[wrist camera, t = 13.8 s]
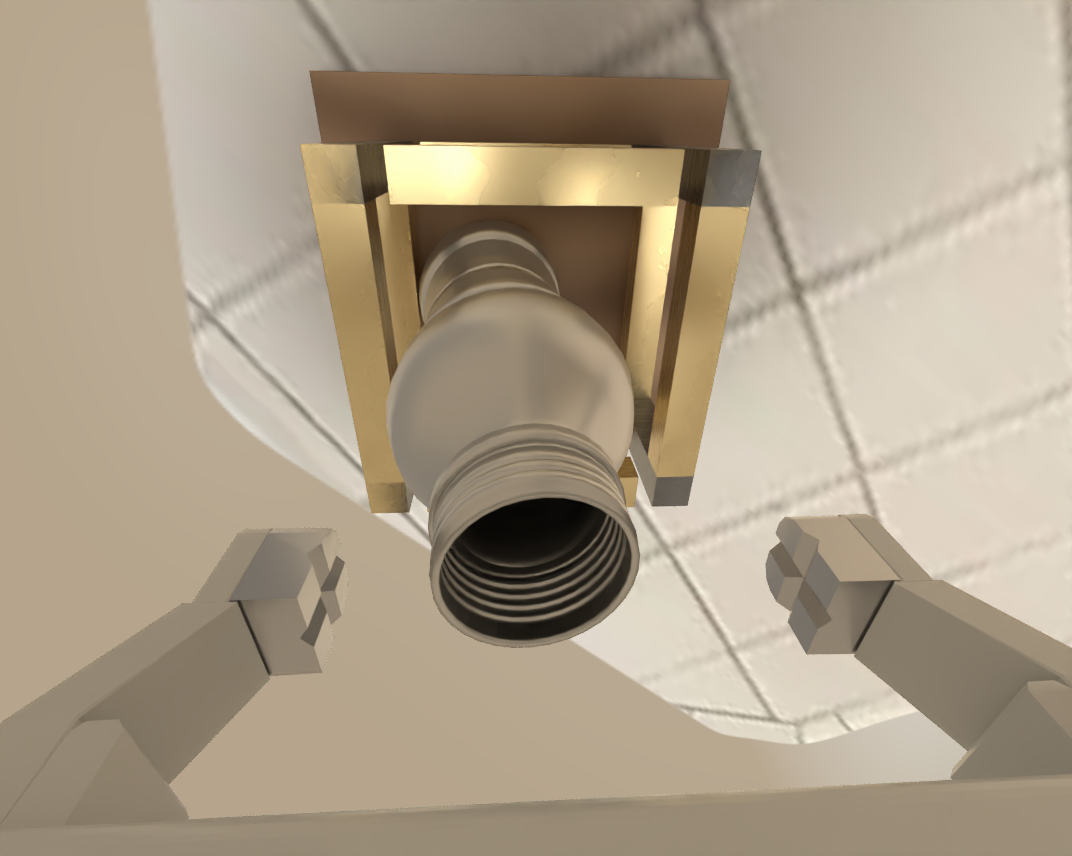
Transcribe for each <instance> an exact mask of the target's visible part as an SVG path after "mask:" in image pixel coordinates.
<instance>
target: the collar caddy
mask: <svg viewBox="0 0 1072 856" xmlns="http://www.w3.org/2000/svg"><path fill="white" fill-rule="evenodd" d="M300 147H301V152H302V157H303V162H304V168H305V173H306V178H307V183H308V188H309V193H310V199H311V204H312V209H313V214H314V219H315V224H316V229H317V235H318V240H319V245H320V250H321V255H322V260H323V266H324V271H325V276H326V281H327V286H328V291H329V297H330V302H331V307H332V312H333V317H334V322H335V328H336V333H337V338H338V343H339V348H340V353H341V359H342V364H343V369H344V374H345V379H346V384H347V390H348V395H349V400H350V405H351V410H352V415H353V421H354V426H355V431H356V436H357V441H358V446H359V452H360V457H361V462H362V467H363V472H364V477H365V483H366V488H367V493H368V498H369V503H370V508H371V513H402V512H409V510H410V506H411V502H412V499H413V495H414V494H413V492H412V491H411V490H410V488H409V487H408V486H407V485H406V483H405V482H404V479H403V477H402V475H401V473H400V471H399V469H398V466H397V464H396V461H395V458H394V455H393V452H392V449H391V446H390V441H389V437H388V432H387V427H386V402H387V398H388V394H389V389H390V385H391V381H392V378H393V376H394V374H395V372H396V370H397V368H398V365H399V363H400V361H401V359H402V357H403V355H404V353H405V351H406V349H407V347H408V345H409V344H410V342H411V341H412V340H413V339H414V337H415V336H416V335H417V333H418V332H419V331H420V330H421V328H422V327H423V326H424V325H425V324H424V321H423V319H422V314H421V308H420V301H419V282H420V278H421V275H420V265H419V255H418V245H417V235H416V226H415V216H414V206H413V204H427V205H550V206H635V210H634V220H633V229H632V239H631V249H630V258H629V268H628V278H627V287H626V297H625V307H624V316H623V326H622V336H621V345H620V351H621V352H622V354H623V356H624V359H625V362H626V364H627V367H628V369H629V372H630V375H631V382H632V389H633V397H634V424H633V435H632V438H631V442H630V445H629V450H630V452H631V455H632V457H633V460H634V462H635V465H636V467H637V470H638V472H639V475H640V477H641V480H642V482H643V485H644V488H645V490H646V493H647V495H648V498H649V500H650V503H651V505H652V506H687V505H688V500H689V496H690V491H691V486H692V481H693V477H694V472H695V467H696V462H697V457H698V453H699V448H700V443H701V438H702V434H703V429H704V424H705V419H706V414H707V410H708V405H709V400H710V395H711V391H712V386H713V381H714V376H715V371H716V367H717V362H718V357H719V352H720V348H721V343H722V338H723V333H724V328H725V324H726V319H727V314H728V309H729V305H730V300H731V295H732V290H733V285H734V281H735V276H736V271H737V266H738V262H739V257H740V252H741V247H742V242H743V238H744V233H745V228H746V223H747V219H748V214H749V209H750V204H751V199H752V195H753V190H754V185H755V180H756V176H757V171H758V166H759V161H760V156H761V152H762V151H759V150H743V149H727V148H711V147H695V146H679V145H653V144H634V145H633V148H631V147H632V145H622V144H554V143H486V142H420V145H413V141H382V140H378V141H356V142H334V143H312V144H300ZM678 199H682V200H684V201H686V204H685V210H684V217H683V224H682V230H681V237H680V244H679V250H678V257H677V264H676V271H675V277H674V284H673V291H672V297H671V304H670V311H669V317H668V324H667V331H666V337H665V344H664V351H663V357H662V364H661V371H660V378H659V384H658V391H657V398H656V404H655V406H654V404H653V402H652V400H651V399H650V396H651V389H652V382H653V375H654V368H655V361H656V354H657V347H658V340H659V333H660V326H661V319H662V312H663V305H664V298H665V291H666V284H667V277H668V270H669V263H670V256H671V249H672V241H673V234H674V227H675V220H676V213H677V206H678ZM618 475H619V478H620V480H621V483H622V485H623V488H624V493H625V499H626V507H634V505H635V498H636V491H637V484H638V475H637V473H636V470H635V467H634V465H633V462H632V460H631V457H625V459H624V461H623V463H622V465H621V467H620V469H619V471H618ZM427 511H428V512H429V509H428V508H427Z"/></svg>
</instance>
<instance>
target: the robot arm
mask: <svg viewBox="0 0 1072 856" xmlns="http://www.w3.org/2000/svg"><path fill="white" fill-rule="evenodd" d="M776 535H777V536H778V538H779V540H780V543H779V544H777V545H776V546H775V547H774V548H773V549H771V550H770V551H769V554H768V558H767V561H766V579H767V582H768V585H769V588H770V591H771V593H772V594H773V596H774V598H775V600H776V602H778V603H779V604H781V605H782V606H784V607H785V608H786V609H788V610H789V611H790V615H789V619H788V623H789V625H790V627H791V628H792V630H793V632H794V633H795V635H796V637H797V639H798V640H799V642H800V644H801V646H802V647H803V649H804V651H805V653H806V654H855V655H854V657H855V658H856V659H858V660H859V661H860V662H861V663H862V664H864V665H865V666H866V667H867V668H868V669H870V670H871V671H872V672H873V673H874V674H876V675H877V676H878V677H879V678H881V679H882V680H883V681H884V682H885V683H887V684H888V685H889V686H890V687H891V688H893V689H894V690H895V691H896V692H897V693H899V694H900V695H901V696H902V697H903V698H905V699H906V700H907V701H908V702H909V703H911V704H912V705H913V706H914V707H915V708H917V709H918V710H919V711H920V712H921V713H923V714H924V715H925V716H926V717H927V718H929V719H930V720H931V721H932V722H933V723H935V724H936V725H937V726H938V727H939V728H941V729H942V730H943V731H944V732H945V733H947V734H948V735H949V736H950V737H952V738H953V739H954V740H955V741H956V742H957V743H959V744H960V745H961V746H962V747H963V748H965V749H966V750H967V751H968V752H967V753H966V754H965V755H964V756H963V757H962V759H961V760H960V761H959V762H958V763H957V764H956V766H955V767H954V768H953V771H952V774H951V779H952V780H941V781H921V782H902V783H883V784H863V785H843V786H823V787H803V788H784V789H766V790H765V789H764V790H744V791H725V792H705V793H686V794H666V795H646V796H628V797H610V798H591V799H590V798H589V799H570V800H553V801H552V800H551V801H533V802H532V801H531V802H514V803H495V804H494V803H493V804H474V805H456V806H435V807H417V808H399V809H398V808H397V809H378V810H359V811H340V812H320V813H302V814H282V815H262V816H243V817H224V818H205V819H188V818H189V816H188V813H187V811H186V808H185V807H184V805H183V804H182V803H181V801H180V800H179V799H178V797H177V796H176V795H175V793H174V792H173V791H172V789H171V788H170V787H169V784H170V783H171V782H172V781H173V780H174V779H175V778H176V777H177V775H178V774H179V773H180V772H181V771H182V770H183V769H184V768H185V767H186V766H187V765H188V764H189V763H190V762H191V761H192V760H193V759H194V758H195V757H196V756H197V755H198V753H200V752H201V750H202V749H203V748H204V747H205V746H206V745H207V744H208V743H209V742H210V741H211V740H212V739H213V738H214V737H215V736H216V735H217V734H218V733H219V732H220V731H221V730H222V729H223V728H224V727H225V725H226V724H227V723H228V722H229V721H230V720H231V719H232V718H233V717H234V716H235V715H236V714H237V713H238V712H239V711H240V710H241V709H242V708H243V707H244V705H246V704H247V703H248V702H249V700H250V699H251V698H252V697H253V696H254V695H255V694H256V693H257V692H258V691H259V690H260V689H261V688H262V687H263V686H264V685H265V684H266V683H267V682H268V681H269V679H270V677H269V676H278V675H294V674H309V673H322V672H323V669H324V666H325V663H326V660H327V657H328V655H329V652H330V649H331V646H332V643H333V640H334V635H333V631H332V628H331V624H333V623H334V622H335V621H336V620H337V619H338V618H339V617H340V616H341V615H342V613H343V610H344V606H345V603H346V598H347V590H348V575H347V569H346V564H345V562H344V561H342V560H341V559H340V558H339V557H338V556H336V554H337V552H338V549H339V547H340V541H339V538H338V535H337V532H336V530H334V529H332V528H275V529H245V530H243V531H241V532H240V533H238V534H237V536H236V537H235V539H234V540H233V542H232V543H231V545H230V546H229V548H228V549H227V551H226V552H225V554H224V555H223V557H222V558H221V560H220V561H219V563H218V564H217V566H216V567H215V569H214V570H213V572H212V573H211V575H210V576H209V578H208V579H207V581H206V582H205V584H204V586H203V587H202V588H201V590H200V591H199V593H198V595H197V596H196V598H195V599H194V601H193V602H192V603H183V604H181V605H179V606H178V607H176V608H174V609H173V610H172V611H170V612H168V613H167V614H165V615H164V616H162V617H161V618H159V619H158V620H156V621H155V622H153V623H152V624H150V625H149V626H147V627H145V628H144V629H143V630H141V631H140V632H138V633H136V634H135V635H133V636H132V637H130V638H129V639H127V640H126V641H124V642H123V643H121V644H120V645H118V646H117V647H115V648H114V649H112V650H110V651H109V652H107V653H106V654H104V655H103V656H101V657H100V658H98V659H97V660H95V661H94V662H92V663H91V664H89V665H88V666H86V667H84V668H83V669H81V670H80V671H78V672H77V673H75V674H74V675H72V676H71V677H69V678H68V679H66V680H65V681H63V682H62V683H60V684H58V685H57V686H55V687H54V688H52V689H51V690H49V691H48V692H46V693H45V694H43V695H42V696H40V697H39V698H37V699H36V700H34V701H33V702H31V703H30V704H28V705H26V706H25V707H24V708H22V709H21V710H19V711H17V712H16V713H14V714H13V715H11V716H10V717H8V718H7V719H5V720H4V721H2V722H1V724H0V856H1072V648H1071V647H1069V646H1067V645H1065V644H1063V643H1061V642H1059V641H1057V640H1055V639H1053V638H1052V637H1050V636H1048V635H1046V634H1044V633H1042V632H1040V631H1038V630H1036V629H1034V628H1032V627H1031V626H1029V625H1027V624H1025V623H1023V622H1021V621H1019V620H1017V619H1015V618H1013V617H1011V616H1010V615H1008V614H1006V613H1004V612H1002V611H1000V610H998V609H996V608H994V607H992V606H990V605H989V604H987V603H985V602H983V601H981V600H979V599H977V598H975V597H973V596H971V595H970V594H968V593H966V592H964V591H962V590H960V589H958V588H956V587H954V586H952V585H950V584H949V583H947V582H945V581H943V580H933V579H932V578H931V577H930V576H929V575H928V574H927V573H926V572H925V571H924V570H923V569H922V568H921V567H920V566H919V565H918V563H917V562H916V561H915V560H914V559H913V558H912V557H911V556H910V555H909V554H908V553H907V552H906V551H905V550H904V549H903V548H902V547H901V545H900V544H899V543H898V542H897V541H896V540H895V539H894V538H893V537H892V536H891V535H890V534H889V533H888V532H887V531H886V530H885V529H884V527H883V526H882V525H881V524H880V523H879V522H878V521H877V520H876V519H875V518H873V517H871V516H869V515H867V514H851V515H838V516H804V517H785V518H784V519H783V520H782V521H781V522H780V523H779V526H778V528H777V531H776Z"/></svg>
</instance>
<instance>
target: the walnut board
mask: <svg viewBox="0 0 1072 856" xmlns="http://www.w3.org/2000/svg"><path fill="white" fill-rule="evenodd" d="M309 72H310V77H311V83H312V89H313V95H314V100H315V106H316V112H317V117H318V123H319V129H320V135H321V140H322V143H334V142H356V141H378V140H382V141H413V145H420V142H486V143H554V144H622V145H632V147H631V148H633V145H634V144H653V145H679V146H695V147H711V148H719V143H720V137H721V131H722V125H723V120H724V114H725V108H726V102H727V96H728V90H729V85H730V80H711V79H665V78H620V77H574V76H528V75H483V74H437V73H391V72H345V71H309ZM685 204H686V201H684V200H682V199H678V206H677V213H676V220H675V227H674V234H673V241H672V249H671V256H670V263H669V270H668V277H667V284H666V291H665V298H664V305H663V312H662V319H661V326H660V333H659V340H658V347H657V354H656V361H655V368H654V375H653V382H652V389H651V396H650V399H651V400H652V402H653V404H654V406H655V404H656V398H657V391H658V384H659V378H660V371H661V364H662V357H663V351H664V344H665V337H666V331H667V324H668V317H669V311H670V304H671V297H672V291H673V284H674V277H675V271H676V264H677V257H678V250H679V244H680V237H681V230H682V224H683V217H684V210H685ZM413 206H414V216H415V226H416V235H417V245H418V255H419V265H420V275H421V274H422V270H423V267H424V265H425V262H426V260H427V258H428V256H429V254H430V253H431V252H432V250H433V249H434V247H435V246H436V245H437V243H438V242H439V241H441V240H442V239H443V238H444V237H445V236H446V235H447V234H448V233H450V232H451V231H453V230H455V229H457V228H458V227H460V226H462V225H465V224H468V223H471V222H474V221H480V220H499V221H506V222H509V223H512V224H515V225H518V226H520V227H522V228H523V229H525V230H526V231H528V232H530V233H531V234H533V235H534V236H535V237H536V238H537V239H538V240H539V241H540V242H541V243H542V244H543V246H544V247H545V249H546V250H547V252H548V253H549V254H550V256H551V258H552V261H553V263H554V266H555V268H556V272H557V277H558V282H559V288H560V296H561V297H562V298H564V299H566V300H568V301H569V302H571V303H573V304H575V305H576V306H578V307H580V308H581V309H583V310H584V311H585V312H586V313H587V314H588V315H589V316H591V317H592V318H593V319H594V320H595V321H596V322H597V323H598V324H599V325H600V326H601V327H602V328H603V329H604V330H606V331H607V332H608V333H609V334H610V336H611V337H612V339H613V340H614V342H615V343H616V345H617V346H618V348H619V349H620V345H621V336H622V326H623V316H624V307H625V297H626V287H627V278H628V268H629V258H630V249H631V239H632V229H633V220H634V210H635V206H550V205H427V204H413Z"/></svg>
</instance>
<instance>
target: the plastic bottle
mask: <svg viewBox="0 0 1072 856" xmlns="http://www.w3.org/2000/svg"><path fill="white" fill-rule="evenodd" d="M419 301H420V308H421V314H422V319H423V321H424V324H425V325H424V326H423V327H422V328H421V330H420V331H419V332H418V333H417V335H416V336H415V337H414V339H413V340H412V341H411V342H410V344H409V345H408V347H407V349H406V351H405V353H404V355H403V357H402V359H401V361H400V363H399V365H398V368H397V370H396V372H395V374H394V376H393V378H392V381H391V385H390V389H389V394H388V398H387V402H386V427H387V432H388V437H389V441H390V446H391V449H392V452H393V455H394V458H395V461H396V464H397V466H398V469H399V471H400V473H401V475H402V477H403V479H404V482H405V483H406V485H407V486H408V487H409V488H410V490H411V491H412V492H413V494H414V495H415V496H416V498H417V499H418V500H419V501H420V502H422V503H423V504H424V505H425V506H426V507H427V508H428V509H429V522H428V531H429V537H430V542H431V545H432V549H431V560H430V573H429V577H430V581H431V589H432V594H433V598H434V601H435V603H436V605H437V607H438V609H439V611H440V613H441V614H442V615H443V616H444V618H445V619H446V620H447V621H448V622H449V623H450V624H451V625H452V626H453V627H455V628H456V629H457V630H459V631H460V632H461V633H463V634H464V635H467V636H469V637H471V638H473V639H475V640H477V641H480V642H484V643H487V644H491V645H495V646H502V647H511V648H517V647H518V648H523V647H536V646H543V645H549V644H552V643H556V642H560V641H563V640H567V639H569V638H572V637H574V636H576V635H579V634H581V633H583V632H585V631H587V630H589V629H590V628H592V627H594V626H595V625H597V624H599V623H600V622H601V621H603V620H604V619H605V618H606V617H607V616H609V615H610V614H611V613H612V612H614V610H615V609H616V608H617V607H618V606H619V605H620V604H621V603H622V601H623V600H624V599H625V598H626V596H627V594H628V593H629V591H630V589H631V588H632V586H633V584H634V581H635V578H636V576H637V573H638V569H639V559H640V553H639V547H638V540H637V534H636V530H635V527H634V525H633V523H632V521H631V518H630V516H629V513H628V511H627V509H626V499H625V493H624V488H623V485H622V483H621V480H620V478H619V475H618V471H619V469H620V467H621V465H622V463H623V461H624V459H625V457H626V455H627V452H628V449H629V445H630V442H631V438H632V435H633V424H634V397H633V389H632V382H631V375H630V372H629V369H628V367H627V364H626V362H625V359H624V356H623V354H622V352H621V351H620V349H619V348H618V346H617V345H616V343H615V342H614V340H613V339H612V337H611V336H610V334H609V333H608V332H607V331H606V330H604V329H603V328H602V327H601V326H600V325H599V324H598V323H597V322H596V321H595V320H594V319H593V318H592V317H591V316H589V315H588V314H587V313H586V312H585V311H584V310H583V309H581V308H580V307H578V306H576V305H575V304H573V303H571V302H569V301H568V300H566V299H564V298H562V297H561V296H560V288H559V282H558V277H557V272H556V268H555V266H554V263H553V261H552V258H551V256H550V254H549V253H548V252H547V250H546V249H545V247H544V246H543V244H542V243H541V242H540V241H539V240H538V239H537V238H536V237H535V236H534V235H533V234H531V233H530V232H528V231H526V230H525V229H523V228H522V227H520V226H518V225H515V224H512V223H509V222H506V221H499V220H480V221H474V222H471V223H468V224H465V225H462V226H460V227H458V228H457V229H455V230H453V231H451V232H450V233H448V234H447V235H446V236H445V237H444V238H443V239H442V240H441V241H439V242H438V243H437V245H436V246H435V247H434V249H433V250H432V252H431V253H430V254H429V256H428V258H427V260H426V262H425V265H424V267H423V270H422V274H421V278H420V282H419Z"/></svg>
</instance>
